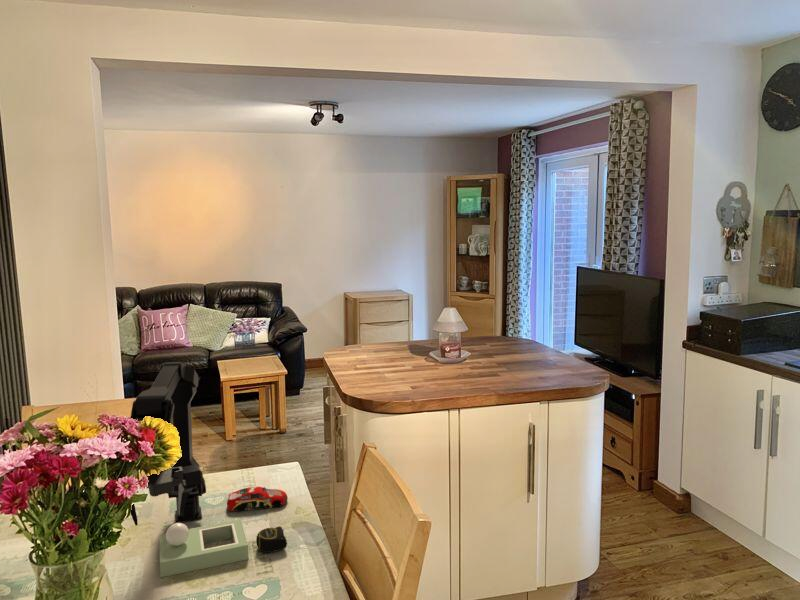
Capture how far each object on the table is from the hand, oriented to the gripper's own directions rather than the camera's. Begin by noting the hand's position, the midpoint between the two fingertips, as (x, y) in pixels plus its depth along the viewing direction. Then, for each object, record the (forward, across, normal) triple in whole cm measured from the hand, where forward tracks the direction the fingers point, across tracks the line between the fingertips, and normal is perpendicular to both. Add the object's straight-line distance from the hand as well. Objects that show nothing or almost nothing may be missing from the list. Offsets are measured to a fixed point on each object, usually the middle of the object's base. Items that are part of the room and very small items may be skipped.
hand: (158, 519), depth 133 cm
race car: (+12, +29, +21) cm, 37 cm away
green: (+12, +10, +3) cm, 16 cm away
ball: (+6, +4, +4) cm, 9 cm away
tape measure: (+12, +25, -2) cm, 28 cm away
